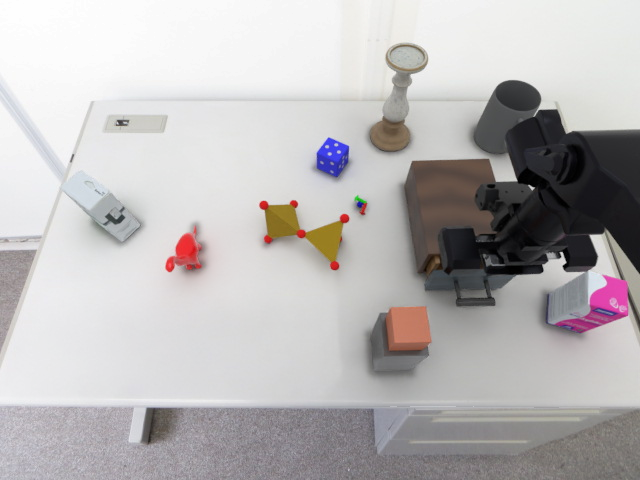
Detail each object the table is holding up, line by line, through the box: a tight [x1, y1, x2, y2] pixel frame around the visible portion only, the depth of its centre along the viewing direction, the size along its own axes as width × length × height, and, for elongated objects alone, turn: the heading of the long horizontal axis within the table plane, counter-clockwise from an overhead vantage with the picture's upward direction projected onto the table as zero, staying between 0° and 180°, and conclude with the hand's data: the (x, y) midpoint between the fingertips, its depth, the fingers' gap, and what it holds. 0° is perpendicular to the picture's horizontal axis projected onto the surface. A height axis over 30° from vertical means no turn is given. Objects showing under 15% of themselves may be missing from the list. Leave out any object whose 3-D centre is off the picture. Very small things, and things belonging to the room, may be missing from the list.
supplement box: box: [545, 270, 629, 334], centre depth 60 cm, size 6×6×12 cm
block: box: [386, 305, 433, 351], centre depth 49 cm, size 5×5×5 cm
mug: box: [473, 79, 542, 154], centre depth 77 cm, size 14×9×12 cm
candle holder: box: [370, 42, 429, 152], centre depth 75 cm, size 9×9×20 cm
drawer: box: [423, 256, 517, 308], centre depth 67 cm, size 23×13×6 cm, turn 1°
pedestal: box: [370, 311, 430, 372], centre depth 57 cm, size 6×6×12 cm
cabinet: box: [403, 158, 497, 274], centre depth 70 cm, size 20×15×8 cm
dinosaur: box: [164, 224, 203, 273], centre depth 65 cm, size 4×15×12 cm, turn 8°
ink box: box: [58, 169, 141, 243], centre depth 69 cm, size 9×5×12 cm, turn 54°
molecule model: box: [258, 194, 368, 272], centre depth 69 cm, size 16×18×12 cm
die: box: [316, 137, 350, 178], centre depth 79 cm, size 5×5×5 cm
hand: (489, 273), depth 56 cm, fingers closed
